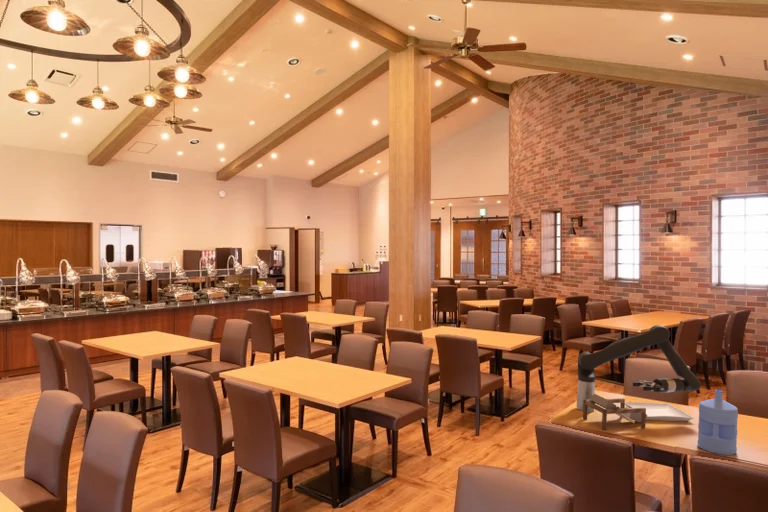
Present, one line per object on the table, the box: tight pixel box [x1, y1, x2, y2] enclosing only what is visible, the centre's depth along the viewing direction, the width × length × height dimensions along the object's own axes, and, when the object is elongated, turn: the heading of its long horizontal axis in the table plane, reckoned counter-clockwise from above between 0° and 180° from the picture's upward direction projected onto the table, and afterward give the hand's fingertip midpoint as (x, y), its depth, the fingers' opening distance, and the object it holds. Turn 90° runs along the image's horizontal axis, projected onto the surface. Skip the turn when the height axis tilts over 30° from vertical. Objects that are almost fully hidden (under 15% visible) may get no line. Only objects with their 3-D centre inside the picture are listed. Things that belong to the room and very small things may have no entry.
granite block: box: [624, 406, 647, 423], centre depth 285 cm, size 5×5×10 cm
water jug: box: [697, 389, 739, 456], centre depth 248 cm, size 16×16×28 cm
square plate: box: [625, 401, 695, 422], centre depth 299 cm, size 27×27×4 cm
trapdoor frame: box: [582, 397, 647, 431], centre depth 282 cm, size 24×19×12 cm
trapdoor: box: [591, 393, 636, 424], centre depth 282 cm, size 20×14×4 cm
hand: (638, 386), depth 285 cm, fingers open, 8 cm apart
